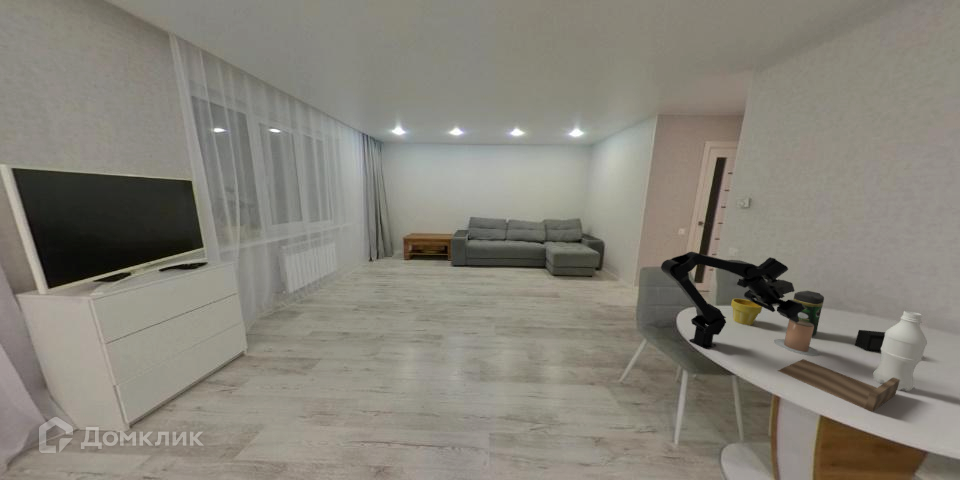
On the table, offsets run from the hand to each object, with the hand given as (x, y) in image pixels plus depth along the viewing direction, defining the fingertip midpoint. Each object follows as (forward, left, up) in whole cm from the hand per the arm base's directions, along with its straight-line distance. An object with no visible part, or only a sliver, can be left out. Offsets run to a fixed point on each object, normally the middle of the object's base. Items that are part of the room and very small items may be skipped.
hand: (785, 316), depth 107 cm
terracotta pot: (+5, -3, -12) cm, 14 cm away
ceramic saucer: (+5, -3, -13) cm, 15 cm away
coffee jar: (+27, +3, -14) cm, 31 cm away
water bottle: (+3, -25, -14) cm, 29 cm away
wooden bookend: (-13, -17, -13) cm, 25 cm away
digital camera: (+36, -15, -14) cm, 41 cm away
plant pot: (+15, +18, -14) cm, 27 cm away
